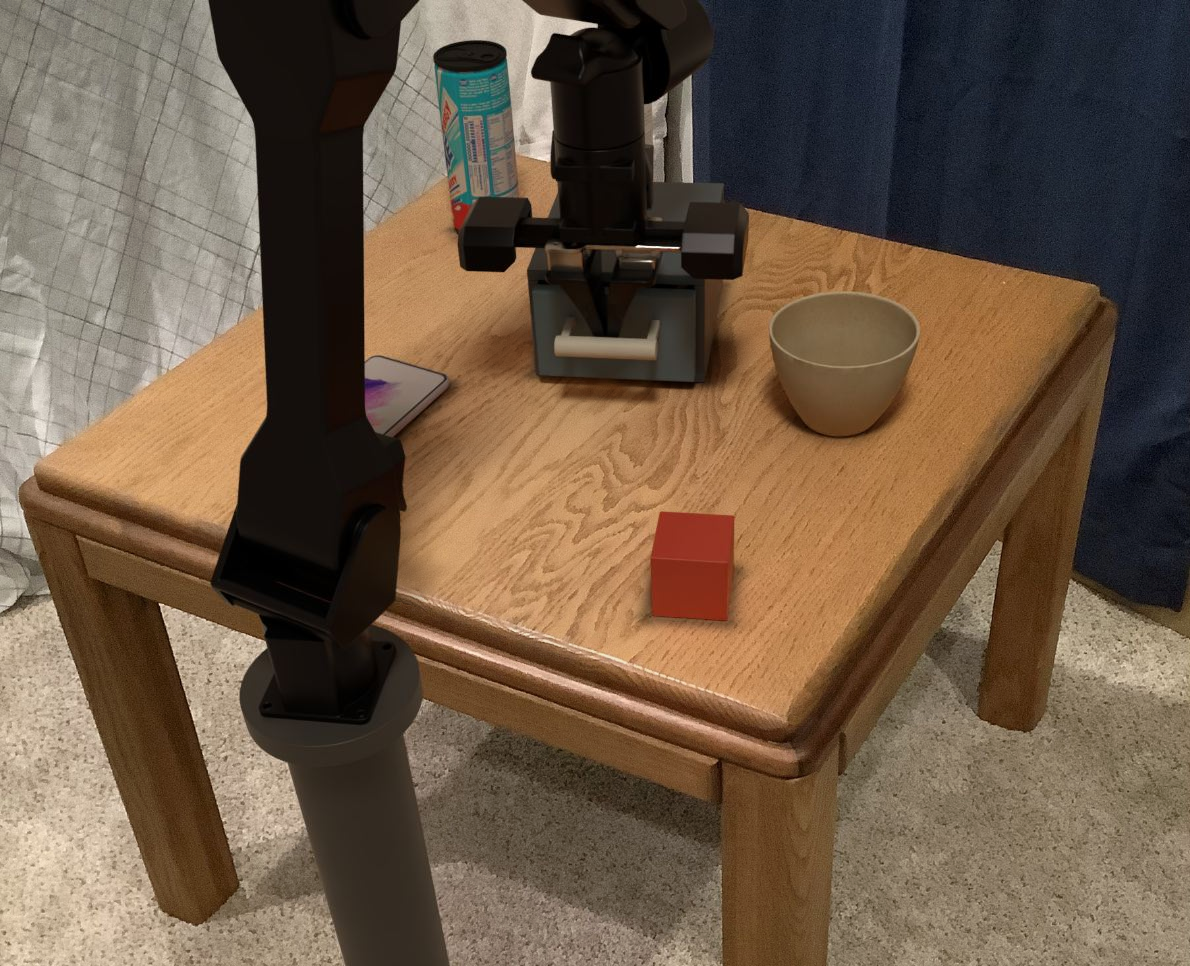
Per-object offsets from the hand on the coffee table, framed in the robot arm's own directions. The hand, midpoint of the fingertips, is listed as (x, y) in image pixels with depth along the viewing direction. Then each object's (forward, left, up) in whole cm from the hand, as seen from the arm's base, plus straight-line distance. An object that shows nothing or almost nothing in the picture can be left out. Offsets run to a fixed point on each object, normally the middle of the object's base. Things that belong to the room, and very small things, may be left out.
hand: (609, 349), depth 100 cm
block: (-20, -8, -4) cm, 22 cm away
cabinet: (+11, 0, -4) cm, 11 cm away
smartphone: (-4, +18, -4) cm, 19 cm away
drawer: (+6, 0, -4) cm, 7 cm away
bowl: (0, -16, -5) cm, 17 cm away
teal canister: (+27, +15, -5) cm, 31 cm away
